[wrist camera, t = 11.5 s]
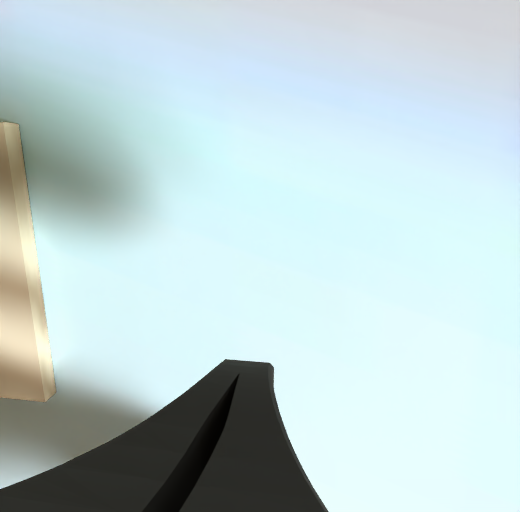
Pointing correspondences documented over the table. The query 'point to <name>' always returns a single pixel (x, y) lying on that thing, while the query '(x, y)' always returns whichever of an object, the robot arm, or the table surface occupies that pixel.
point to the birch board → (20, 284)
